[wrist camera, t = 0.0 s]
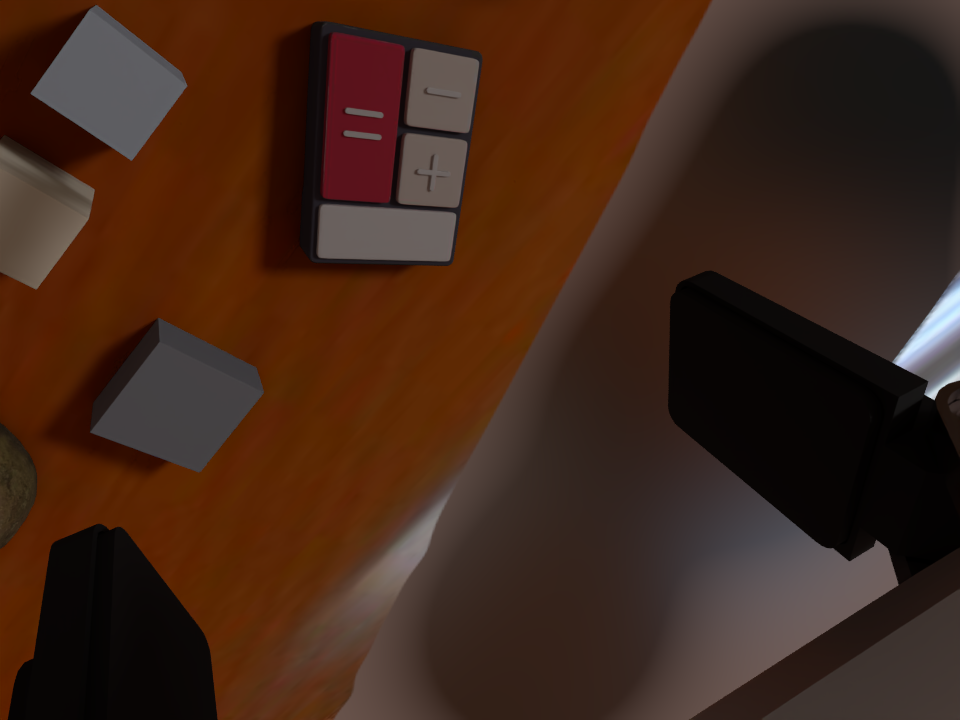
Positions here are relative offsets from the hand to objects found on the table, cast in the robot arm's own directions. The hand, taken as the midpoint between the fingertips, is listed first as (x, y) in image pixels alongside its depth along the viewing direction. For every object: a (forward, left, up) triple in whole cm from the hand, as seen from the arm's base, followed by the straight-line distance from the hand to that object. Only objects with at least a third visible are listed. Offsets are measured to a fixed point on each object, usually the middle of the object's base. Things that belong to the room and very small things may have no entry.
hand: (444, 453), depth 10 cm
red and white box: (+10, +4, -38) cm, 39 cm away
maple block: (-5, -12, -37) cm, 39 cm away
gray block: (-5, -2, -37) cm, 38 cm away
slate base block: (+9, -18, -38) cm, 43 cm away
